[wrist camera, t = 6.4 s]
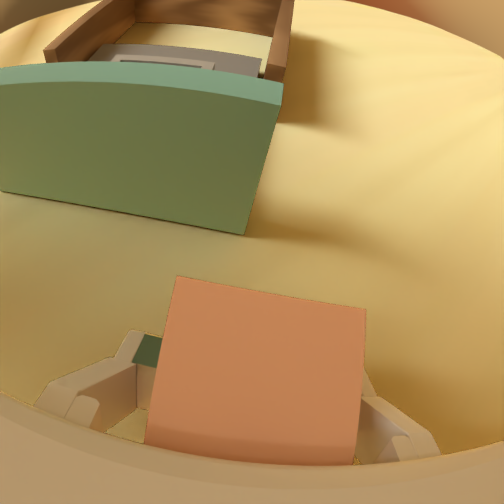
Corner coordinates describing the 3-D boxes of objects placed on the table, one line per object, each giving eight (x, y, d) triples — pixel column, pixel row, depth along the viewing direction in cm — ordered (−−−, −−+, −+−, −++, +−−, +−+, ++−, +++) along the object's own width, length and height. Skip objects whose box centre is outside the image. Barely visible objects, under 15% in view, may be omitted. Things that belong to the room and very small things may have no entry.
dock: (56, 97, 21) (40, 39, 16) (130, 18, 28) (129, -25, 23) (270, 122, 22) (289, 54, 17) (284, 35, 29) (296, -10, 24)
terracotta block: (174, 421, 13) (142, 453, 5) (188, 341, 15) (176, 275, 7) (269, 435, 14) (350, 474, 6) (279, 357, 15) (366, 309, 7)
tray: (-2, 190, 16) (-60, 93, 8) (94, 55, 24) (84, -25, 16) (243, 235, 18) (281, 105, 10) (272, 74, 25) (296, -16, 17)
